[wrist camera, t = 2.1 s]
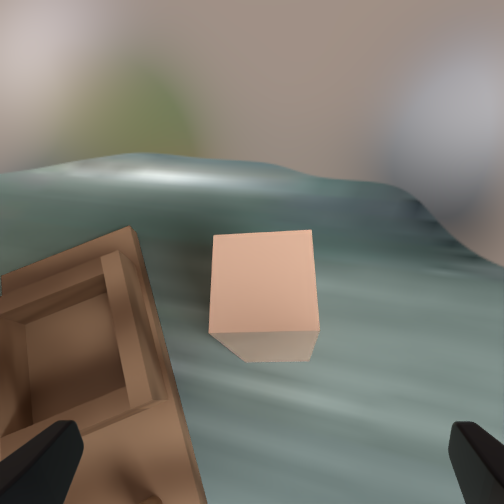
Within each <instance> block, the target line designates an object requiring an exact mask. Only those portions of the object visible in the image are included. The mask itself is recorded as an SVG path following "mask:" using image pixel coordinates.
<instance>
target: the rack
mask: <svg viewBox="0 0 504 504" xmlns="http://www.w3.org/2000/svg"><path fill="white" fill-rule="evenodd" d="M1 283H2V296H0V461H2V460H3V459H5V458H6V457H7V456H9V455H10V454H11V453H13V452H14V451H16V450H17V449H18V448H20V447H21V446H23V445H24V444H25V443H27V442H28V441H29V440H31V439H32V438H34V437H35V436H36V435H38V434H39V433H40V432H42V431H43V430H45V429H46V428H47V427H49V426H50V425H52V424H53V423H54V422H56V421H59V420H74V421H75V422H76V423H77V426H78V428H79V431H80V434H81V437H82V439H83V442H84V450H83V454H82V457H81V460H80V462H79V465H78V467H77V470H76V473H75V475H74V478H73V480H72V483H71V486H70V488H69V491H68V493H67V496H66V499H65V501H64V504H207V500H206V496H205V492H204V488H203V485H202V481H201V477H200V473H199V469H198V466H197V462H196V458H195V454H194V450H193V446H192V443H191V439H190V435H189V431H188V427H187V424H186V420H185V416H184V412H183V408H182V404H181V401H180V397H179V393H178V389H177V385H176V382H175V378H174V374H173V370H172V366H171V363H170V359H169V355H168V351H167V347H166V343H165V340H164V336H163V332H162V328H161V324H160V321H159V317H158V313H157V309H156V305H155V301H154V298H153V294H152V290H151V286H150V282H149V279H148V275H147V271H146V267H145V263H144V260H143V256H142V252H141V248H140V244H139V240H138V237H137V233H136V232H135V231H134V230H133V229H132V228H131V226H127V227H125V228H122V229H120V230H117V231H114V232H112V233H109V234H107V235H104V236H102V237H99V238H97V239H94V240H91V241H89V242H86V243H84V244H81V245H79V246H76V247H74V248H71V249H68V250H66V251H63V252H61V253H58V254H56V255H53V256H51V257H48V258H45V259H43V260H40V261H38V262H35V263H33V264H30V265H28V266H25V267H22V268H20V269H17V270H15V271H12V272H10V273H7V274H5V275H2V276H1Z"/></svg>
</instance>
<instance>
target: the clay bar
mask: <svg viewBox="0 0 504 504" xmlns="http://www.w3.org/2000/svg"><path fill="white" fill-rule="evenodd" d="M319 332H320V326H319V314H318V302H317V290H316V278H315V266H314V254H313V242H312V230H299V231H281V232H263V233H245V234H227V235H214V236H213V256H212V276H211V295H210V315H209V334H210V335H212V336H213V337H214V338H215V339H217V340H218V341H219V342H220V343H222V344H223V345H224V346H225V347H227V348H228V349H229V350H231V351H232V352H233V353H234V354H236V355H237V356H238V357H239V358H241V359H242V360H243V361H244V362H302V361H309V360H310V358H311V355H312V352H313V349H314V346H315V343H316V340H317V337H318V335H319Z"/></svg>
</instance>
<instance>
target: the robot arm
mask: <svg viewBox="0 0 504 504" xmlns="http://www.w3.org/2000/svg"><path fill="white" fill-rule="evenodd" d="M83 450H84V442H83V439H82V437H81V434H80V431H79V428H78V426H77V423H76V422H75V421H74V420H59V421H56V422H54V423H53V424H52V425H50V426H49V427H47V428H46V429H45V430H43V431H42V432H40V433H39V434H38V435H36V436H35V437H34V438H32V439H31V440H29V441H28V442H27V443H25V444H24V445H23V446H21V447H20V448H18V449H17V450H16V451H14V452H13V453H11V454H10V455H9V456H7V457H6V458H5V459H3V460H2V461H0V504H64V501H65V499H66V496H67V493H68V491H69V488H70V486H71V483H72V480H73V478H74V475H75V473H76V470H77V467H78V465H79V462H80V460H81V457H82V454H83ZM448 452H449V457H450V461H451V463H452V466H453V469H454V472H455V475H456V477H457V480H458V483H459V486H460V489H461V492H462V494H463V497H464V500H465V503H466V504H504V445H503V444H502V443H500V442H499V441H498V440H497V439H495V438H494V437H493V436H492V435H490V434H489V433H488V432H487V431H485V430H484V429H483V428H481V427H480V426H479V425H478V424H476V423H474V422H470V421H456V422H454V423H453V424H452V428H451V434H450V440H449V446H448Z"/></svg>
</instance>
